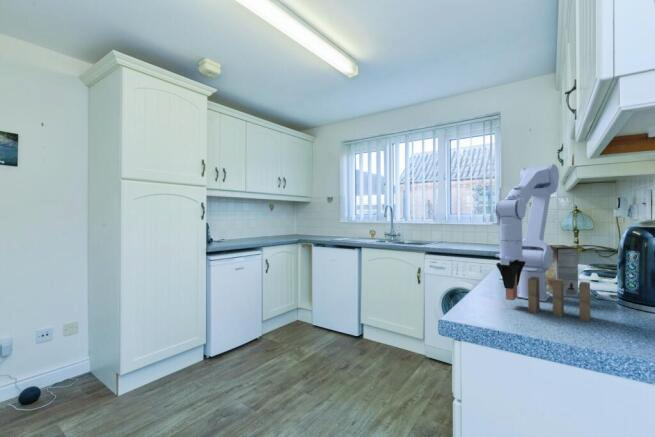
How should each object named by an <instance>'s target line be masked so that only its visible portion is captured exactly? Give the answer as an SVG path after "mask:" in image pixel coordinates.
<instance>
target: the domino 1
mask: <svg viewBox="0 0 655 437" xmlns="http://www.w3.org/2000/svg"><path fill="white" fill-rule="evenodd" d="M517 294H518V286H517V273H516V278H515V285H514V288H513V289H509V288H505V300H508V301H514V300H515V299H517Z"/></svg>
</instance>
